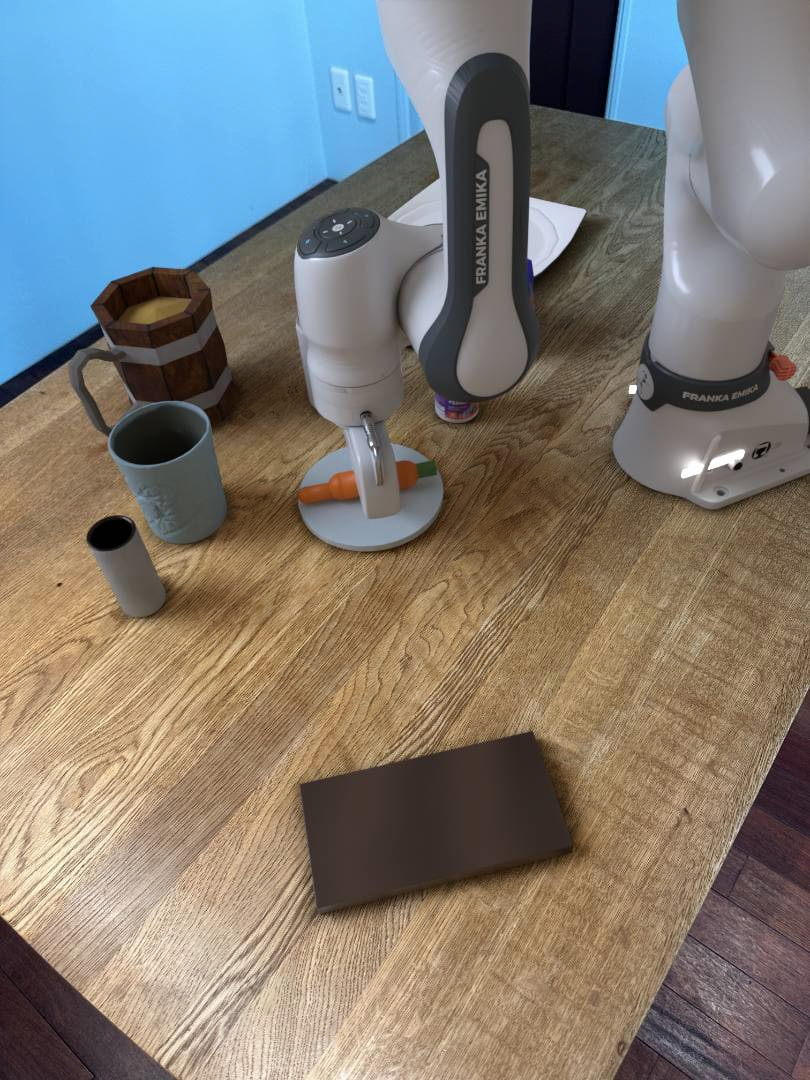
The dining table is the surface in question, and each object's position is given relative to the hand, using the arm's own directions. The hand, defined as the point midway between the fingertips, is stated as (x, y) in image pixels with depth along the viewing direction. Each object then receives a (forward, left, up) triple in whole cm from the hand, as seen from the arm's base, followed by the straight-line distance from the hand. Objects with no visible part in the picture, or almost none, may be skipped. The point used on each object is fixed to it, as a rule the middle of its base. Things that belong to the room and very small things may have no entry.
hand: (369, 485), depth 88 cm
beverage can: (+2, -18, -2) cm, 18 cm away
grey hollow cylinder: (+25, +8, -2) cm, 26 cm away
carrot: (0, 0, -1) cm, 1 cm away
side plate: (0, 0, -2) cm, 2 cm away
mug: (+22, -21, -2) cm, 30 cm away
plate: (-25, -49, -2) cm, 55 cm away
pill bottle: (-13, -12, -2) cm, 18 cm away
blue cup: (+20, -3, -2) cm, 20 cm away
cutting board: (+2, +37, -2) cm, 37 cm away
